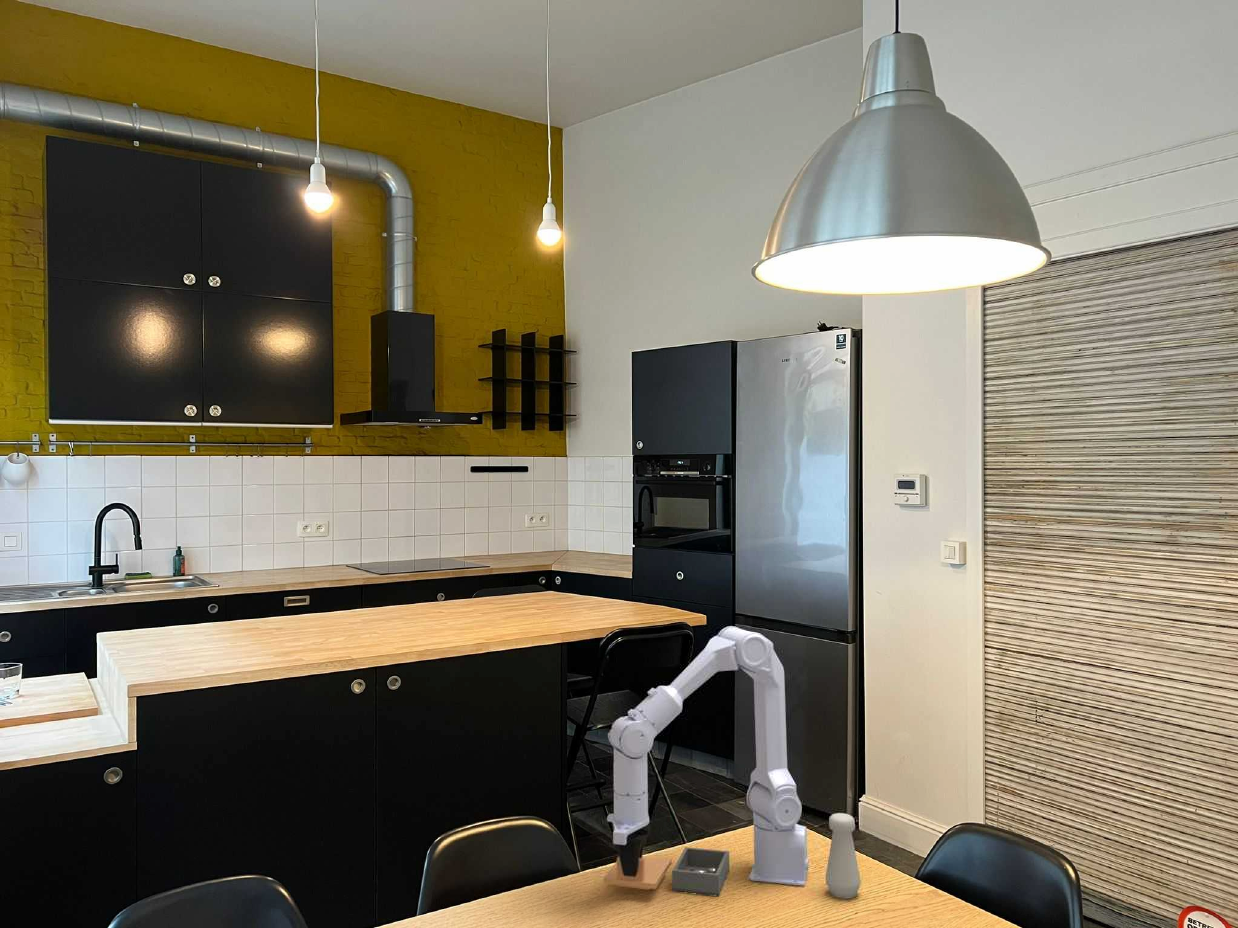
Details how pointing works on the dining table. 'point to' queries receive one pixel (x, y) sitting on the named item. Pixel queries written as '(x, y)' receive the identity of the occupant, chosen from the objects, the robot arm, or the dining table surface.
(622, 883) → the lid
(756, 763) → the robot arm
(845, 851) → the salt shaker
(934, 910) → the dining table surface
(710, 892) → the tub
